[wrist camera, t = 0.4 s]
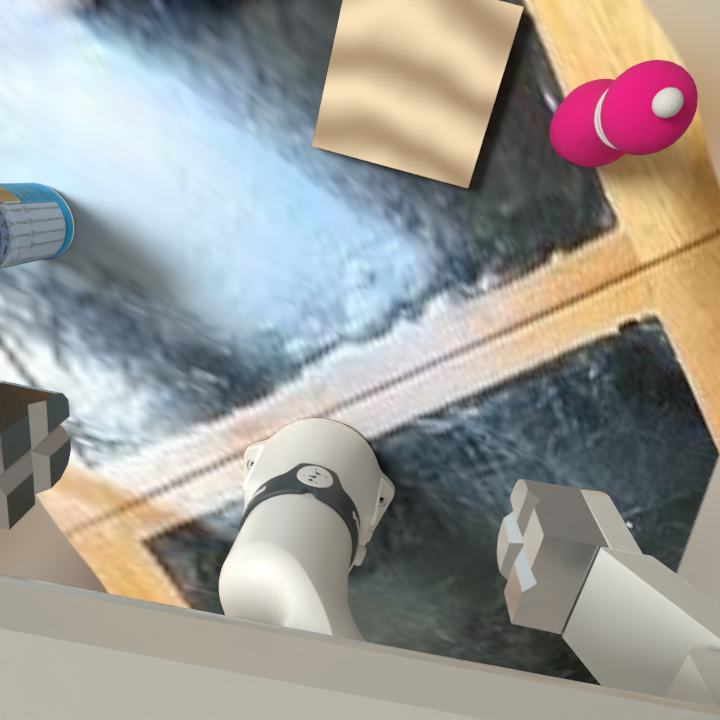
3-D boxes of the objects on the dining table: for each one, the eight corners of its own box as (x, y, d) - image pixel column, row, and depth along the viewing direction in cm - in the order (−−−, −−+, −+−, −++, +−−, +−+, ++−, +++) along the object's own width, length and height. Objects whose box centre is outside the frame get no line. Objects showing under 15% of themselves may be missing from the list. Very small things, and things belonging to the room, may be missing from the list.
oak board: (466, 188, 56) (468, 188, 55) (314, 146, 56) (312, 146, 55) (520, 11, 51) (523, 7, 49) (353, -33, 51) (351, -39, 50)
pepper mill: (635, 101, 52) (759, 58, 33) (600, 178, 55) (698, 178, 36) (563, 76, 52) (646, 18, 33) (531, 154, 55) (593, 141, 36)
